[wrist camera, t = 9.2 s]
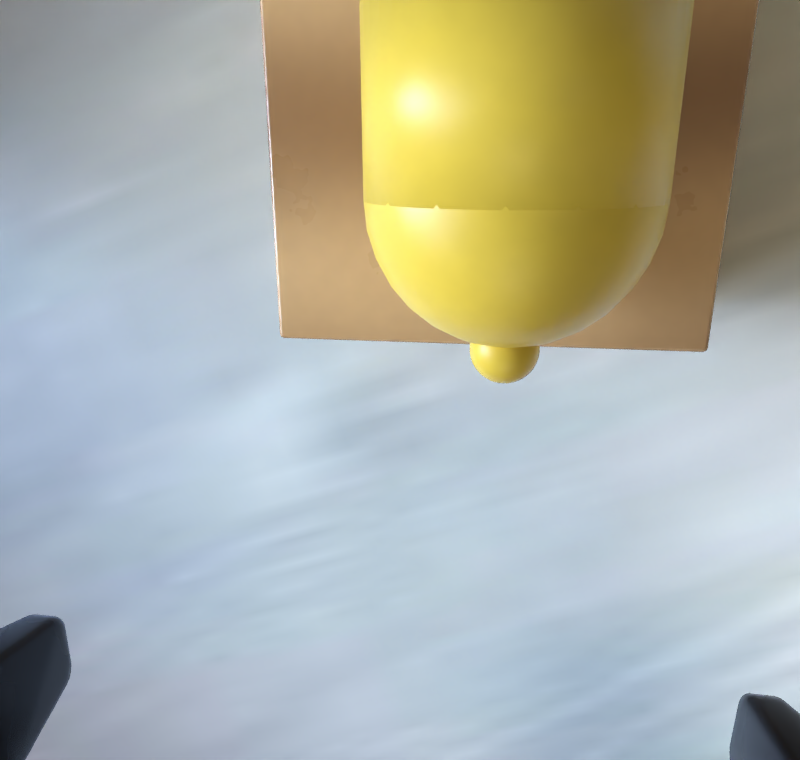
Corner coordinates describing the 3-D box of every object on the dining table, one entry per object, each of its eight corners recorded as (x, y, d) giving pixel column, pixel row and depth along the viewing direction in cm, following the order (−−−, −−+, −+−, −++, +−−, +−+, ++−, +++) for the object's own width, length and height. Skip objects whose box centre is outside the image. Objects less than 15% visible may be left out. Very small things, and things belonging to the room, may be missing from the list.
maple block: (653, 303, 18) (708, 353, 13) (332, 295, 19) (278, 338, 15) (699, -81, 15) (789, -188, 11) (319, -62, 16) (248, -151, 12)
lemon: (599, 344, 14) (697, 434, 9) (371, 346, 14) (359, 435, 9) (647, -171, 11) (819, -399, 7) (362, -170, 11) (339, -399, 7)
